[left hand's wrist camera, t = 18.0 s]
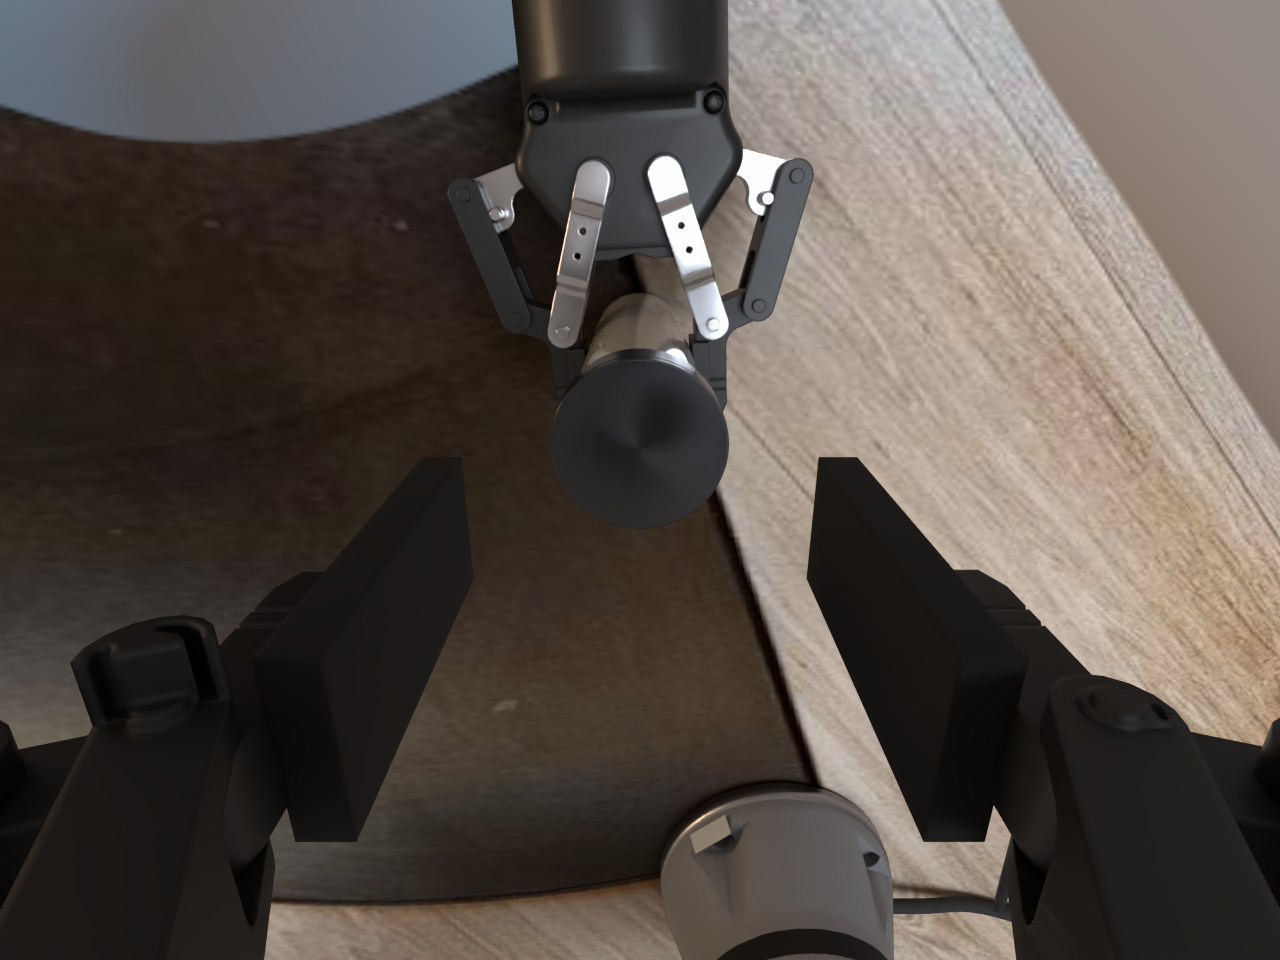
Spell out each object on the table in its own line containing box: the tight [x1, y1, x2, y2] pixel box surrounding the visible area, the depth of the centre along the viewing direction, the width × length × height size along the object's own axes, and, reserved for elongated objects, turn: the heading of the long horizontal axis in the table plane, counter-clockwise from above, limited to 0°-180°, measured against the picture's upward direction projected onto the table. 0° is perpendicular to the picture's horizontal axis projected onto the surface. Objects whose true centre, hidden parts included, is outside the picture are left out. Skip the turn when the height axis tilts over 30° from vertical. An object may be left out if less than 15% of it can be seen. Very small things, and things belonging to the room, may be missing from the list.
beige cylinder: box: [581, 293, 698, 371], centre depth 27 cm, size 4×4×17 cm
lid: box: [550, 348, 729, 529], centre depth 20 cm, size 5×5×2 cm
